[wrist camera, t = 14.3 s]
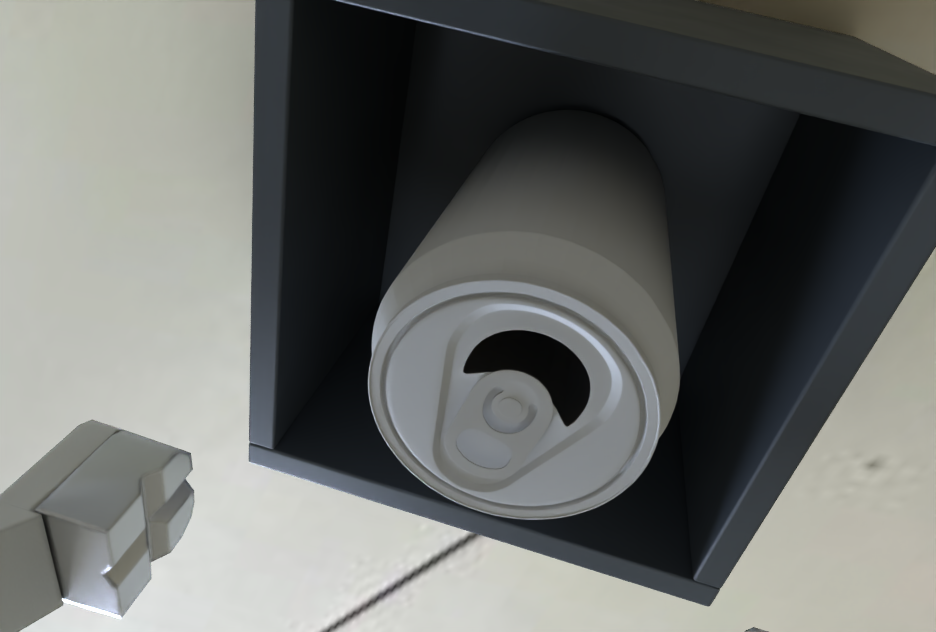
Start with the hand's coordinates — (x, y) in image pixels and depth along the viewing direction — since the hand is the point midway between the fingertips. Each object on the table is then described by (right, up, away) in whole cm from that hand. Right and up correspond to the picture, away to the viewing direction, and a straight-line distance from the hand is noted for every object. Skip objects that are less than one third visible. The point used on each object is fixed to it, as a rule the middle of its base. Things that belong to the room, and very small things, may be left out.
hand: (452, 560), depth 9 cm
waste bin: (+4, +8, +14) cm, 16 cm away
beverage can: (+4, +8, +13) cm, 16 cm away
